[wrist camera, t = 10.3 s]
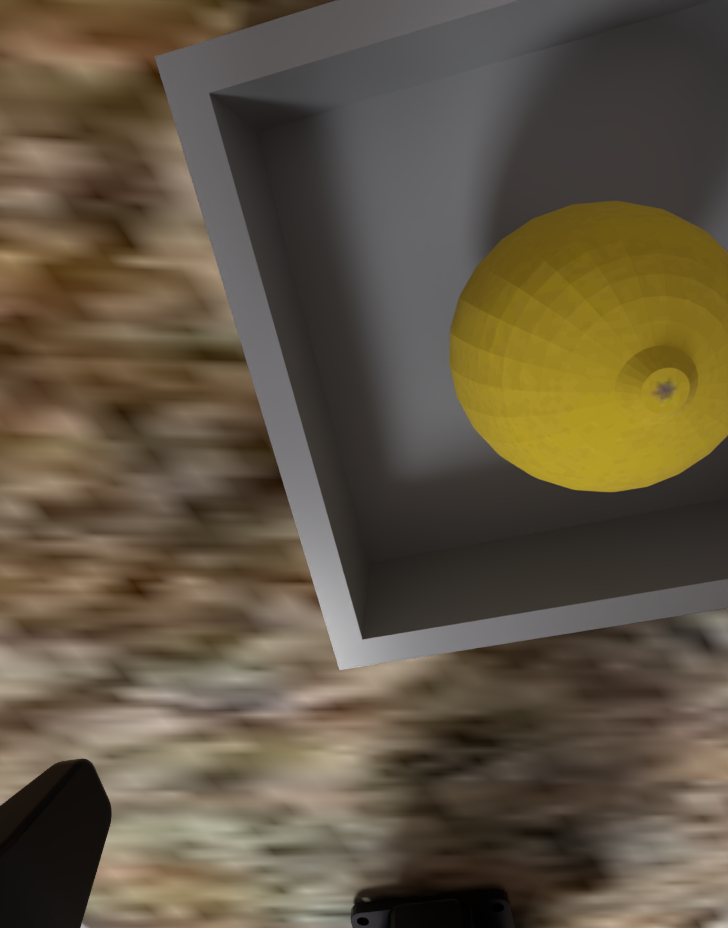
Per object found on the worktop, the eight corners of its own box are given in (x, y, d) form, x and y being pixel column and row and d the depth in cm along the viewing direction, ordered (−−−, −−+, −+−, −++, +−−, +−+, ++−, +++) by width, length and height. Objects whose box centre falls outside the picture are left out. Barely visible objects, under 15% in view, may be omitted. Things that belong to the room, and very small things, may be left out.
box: (804, 498, 18) (930, 575, 14) (352, 579, 20) (339, 670, 15) (806, -62, 13) (994, -206, 9) (222, 109, 15) (154, 56, 11)
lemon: (616, 174, 15) (844, 100, 7) (669, 380, 16) (899, 494, 9) (407, 265, 16) (415, 283, 8) (476, 450, 17) (536, 606, 10)
